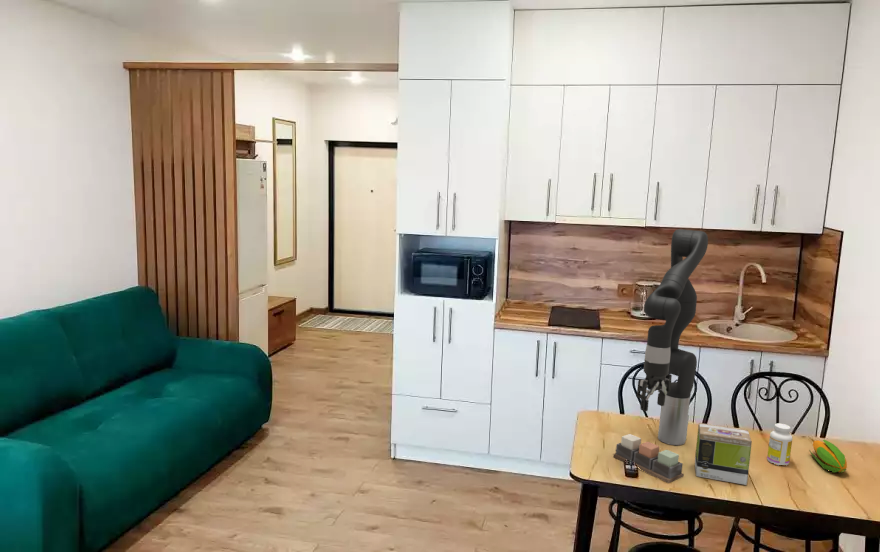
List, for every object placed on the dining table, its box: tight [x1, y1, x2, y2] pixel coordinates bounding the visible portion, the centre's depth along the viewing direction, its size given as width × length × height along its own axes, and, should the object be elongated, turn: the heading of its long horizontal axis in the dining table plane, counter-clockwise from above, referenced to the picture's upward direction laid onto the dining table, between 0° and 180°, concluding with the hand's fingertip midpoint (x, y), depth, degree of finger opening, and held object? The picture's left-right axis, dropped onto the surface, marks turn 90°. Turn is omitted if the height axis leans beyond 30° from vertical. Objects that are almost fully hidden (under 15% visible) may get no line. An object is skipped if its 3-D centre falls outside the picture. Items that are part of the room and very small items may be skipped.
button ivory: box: [620, 433, 642, 450], centre depth 214 cm, size 4×4×4 cm
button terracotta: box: [639, 441, 661, 458], centre depth 209 cm, size 4×4×4 cm
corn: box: [808, 439, 848, 474], centre depth 217 cm, size 7×8×20 cm
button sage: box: [657, 449, 680, 467], centre depth 203 cm, size 4×4×4 cm
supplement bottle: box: [766, 422, 793, 466], centre depth 216 cm, size 7×7×13 cm
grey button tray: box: [612, 442, 684, 484], centre depth 209 cm, size 8×21×4 cm, turn 37°
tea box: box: [694, 422, 753, 486], centre depth 205 cm, size 15×10×15 cm
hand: (652, 407), depth 206 cm, fingers open, 8 cm apart
